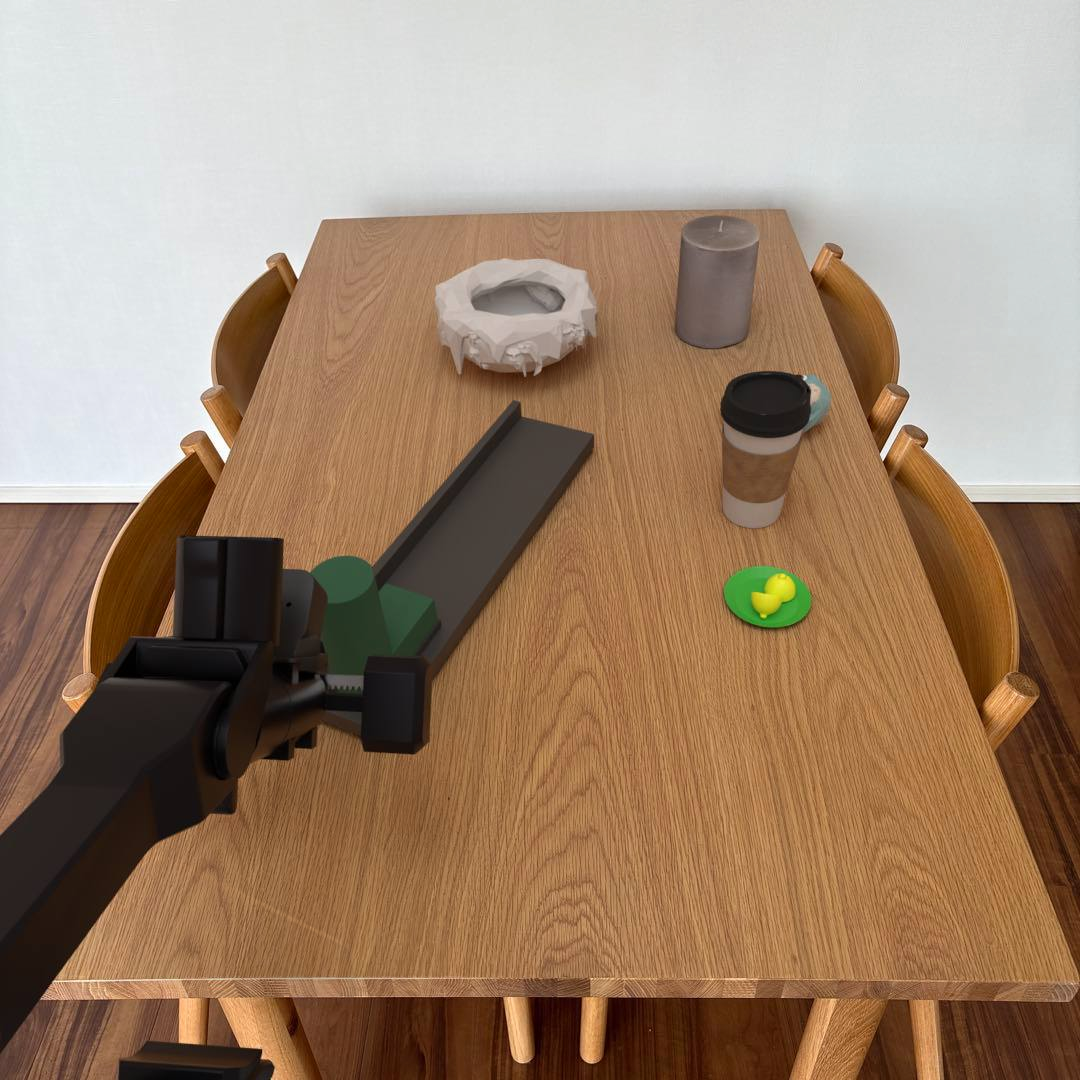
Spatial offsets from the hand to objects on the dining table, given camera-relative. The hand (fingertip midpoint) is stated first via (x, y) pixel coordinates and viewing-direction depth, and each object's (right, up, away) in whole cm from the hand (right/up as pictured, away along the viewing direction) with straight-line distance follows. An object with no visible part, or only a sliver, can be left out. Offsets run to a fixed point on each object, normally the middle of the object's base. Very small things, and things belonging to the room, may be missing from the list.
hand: (329, 685), depth 72 cm
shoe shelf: (+8, +8, +24) cm, 27 cm away
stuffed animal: (+43, +24, +39) cm, 63 cm away
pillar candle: (+38, +38, +55) cm, 77 cm away
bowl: (+13, +35, +52) cm, 64 cm away
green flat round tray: (+37, +5, +19) cm, 42 cm away
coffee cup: (+38, +14, +28) cm, 49 cm away
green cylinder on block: (+2, 0, +12) cm, 12 cm away
